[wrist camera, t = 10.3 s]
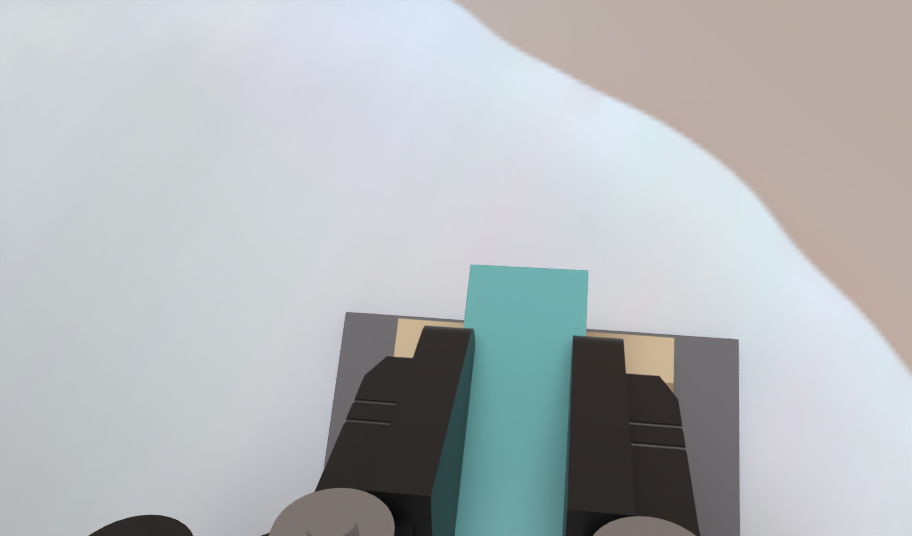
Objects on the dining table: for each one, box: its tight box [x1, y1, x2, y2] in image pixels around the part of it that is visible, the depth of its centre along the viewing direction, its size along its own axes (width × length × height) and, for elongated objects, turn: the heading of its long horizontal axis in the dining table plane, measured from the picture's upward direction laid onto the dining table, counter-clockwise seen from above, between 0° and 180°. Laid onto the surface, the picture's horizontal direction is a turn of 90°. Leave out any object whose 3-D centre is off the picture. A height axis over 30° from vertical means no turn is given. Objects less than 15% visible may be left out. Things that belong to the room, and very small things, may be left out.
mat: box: [324, 312, 740, 536], centre depth 23 cm, size 12×12×1 cm
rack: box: [394, 318, 674, 392], centre depth 22 cm, size 7×9×3 cm
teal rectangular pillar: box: [455, 265, 588, 536], centre depth 15 cm, size 2×6×10 cm, turn 175°
